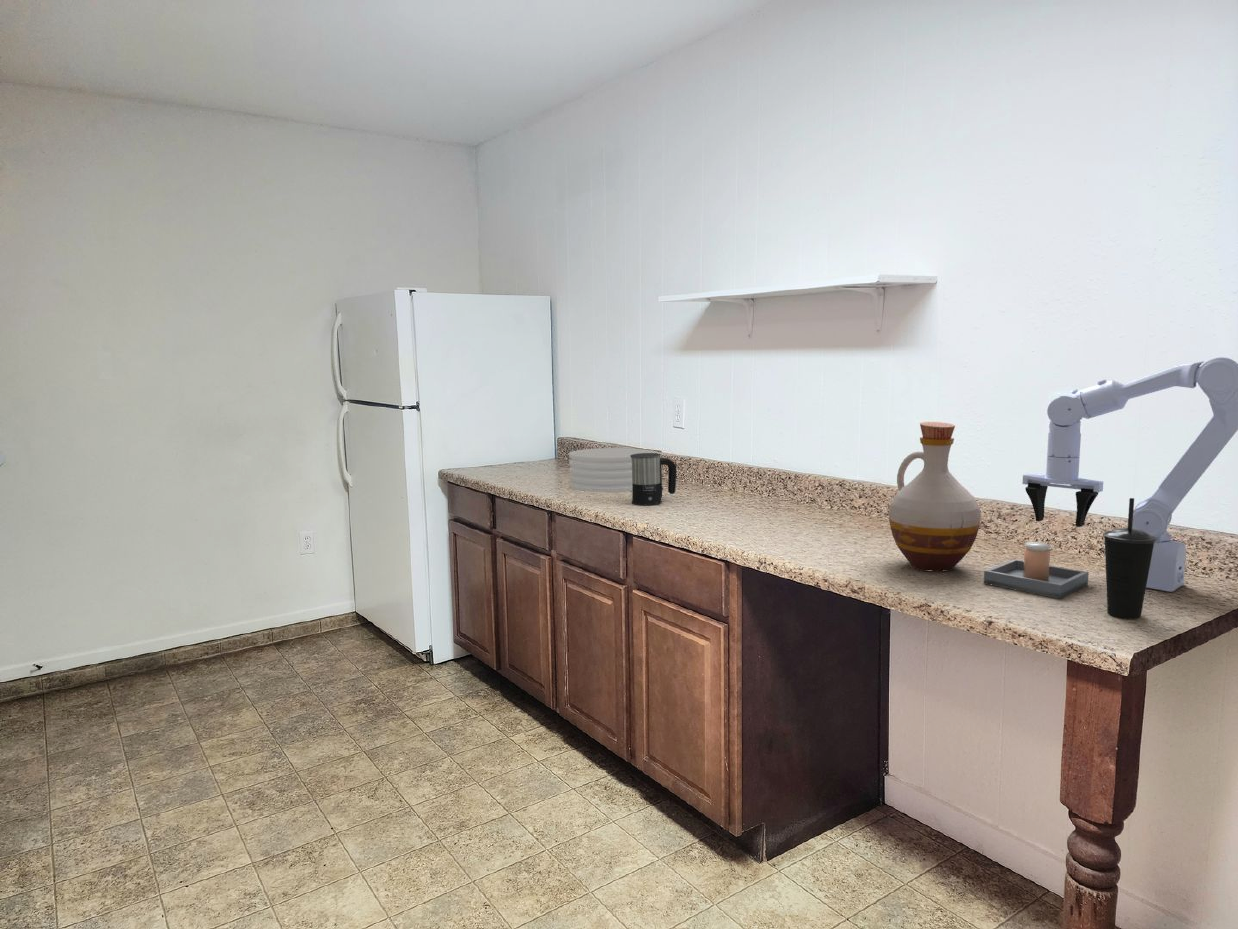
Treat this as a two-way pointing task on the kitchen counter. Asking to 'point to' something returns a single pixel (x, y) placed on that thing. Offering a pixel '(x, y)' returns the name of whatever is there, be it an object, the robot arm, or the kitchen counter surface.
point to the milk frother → (650, 478)
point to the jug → (933, 506)
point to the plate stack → (602, 469)
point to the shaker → (1036, 561)
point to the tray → (1057, 587)
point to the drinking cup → (1127, 568)
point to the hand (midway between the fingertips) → (1059, 523)
